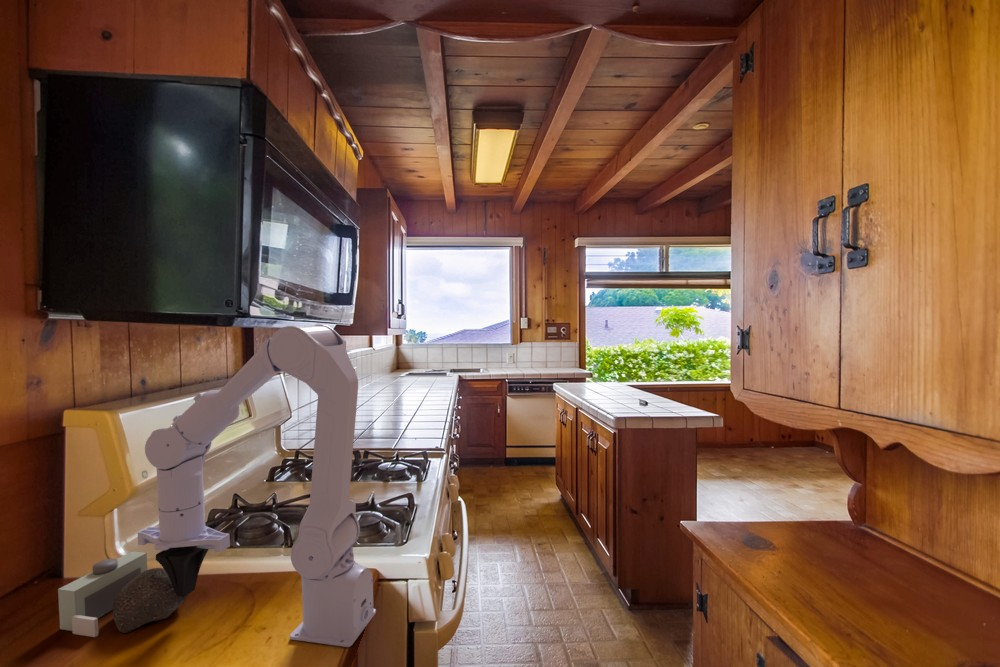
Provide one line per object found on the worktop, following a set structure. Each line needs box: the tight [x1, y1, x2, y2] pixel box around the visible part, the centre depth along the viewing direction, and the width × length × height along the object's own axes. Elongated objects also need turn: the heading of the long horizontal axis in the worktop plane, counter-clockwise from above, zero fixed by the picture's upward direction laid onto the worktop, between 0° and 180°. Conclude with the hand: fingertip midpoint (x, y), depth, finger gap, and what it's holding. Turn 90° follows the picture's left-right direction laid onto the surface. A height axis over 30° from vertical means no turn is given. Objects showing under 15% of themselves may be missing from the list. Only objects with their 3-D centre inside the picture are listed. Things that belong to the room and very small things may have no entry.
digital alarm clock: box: [57, 551, 148, 638], centre depth 74 cm, size 7×12×7 cm, turn 168°
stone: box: [112, 567, 189, 634], centre depth 72 cm, size 10×8×10 cm
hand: (185, 592), depth 71 cm, fingers closed
